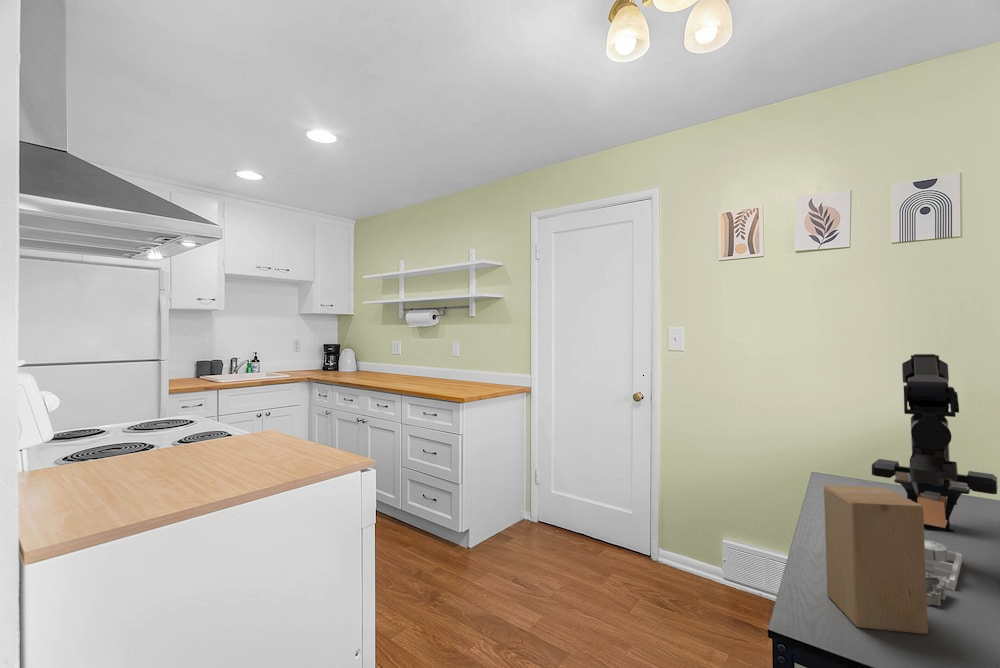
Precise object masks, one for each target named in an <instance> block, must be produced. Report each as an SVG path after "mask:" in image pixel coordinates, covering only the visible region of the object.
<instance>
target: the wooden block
mask: <svg viewBox="0 0 1000 668" xmlns="http://www.w3.org/2000/svg"><path fill="white" fill-rule="evenodd" d="M823 493H824V494H823V496H824V497H823V498H824V499H823V501H824V526H825V527H824V529H825V530H824V531H825V561H826V563H825V564H826V566H825V567H826V589H827V590H826V592H827V596H828V598H829V599H830V600H831V601H832V603H834V604H835V605H836V607H838V608H839V610H840V611H841V612H842V613H843V614H844V615H845V616H846V617H847V618H848V620H850V621H851V623H852V624H854V626H855V627H857V628H860V629H871V630H879V631H880V630H881V631H890V632H891V631H892V632H901V633H910V634H911V633H912V634H923V635H927V634H928V633H929V628H928V626H929V625H928V605H927V594H928V593H927V591H926V568H925V542H924V540H925V529H924V516H923V507H922V505H920V504H918V503H916V502H914V501H912V500H910V499H907V497H905V496H903V495H901V494H900V493H897V492H895V491H893V490H891V489H889V488H887V487H884V486H883V487H882V486H865V485H864V486H860V485H859V486H858V485H834V484H826V485H824V486H823ZM926 593H927V594H926Z"/></svg>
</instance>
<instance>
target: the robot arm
mask: <svg viewBox="0 0 1000 668" xmlns="http://www.w3.org/2000/svg"><path fill="white" fill-rule="evenodd" d="M901 365H902V367H901V368H902V369H901V371H902V384H903V409H904V414H905V415H912V416H910V435H911V436H910V437H911V439H910V440H911V456H910V458H909V466H903V465H900V464H899V461H898V460H890V459H883V458H878V459H877V460H875V461H874V462H873V463H872V464H871V476H874V477H879V478H886V479H891V478H892V477H895V478H894V480H893V481H894V483H896V484H899V485H901V487H902V488H903V489H904V490H905V492H906V496H907V497H906V498H907V499H909V500H912V501H914V502H916V503H917V498H918V496H919V495H920V493H924V492H925V491H929V492H935V493H941V496H943V497H947V504H946V512H945V515H946V520H947V524H946V527H945V528H942V527H937V526H933V525H928V524H924V530H935V531H947V532H948V531H949V532H955V528H954V527H952V526H950V524H951V523H950V521H951V520H950V517H951V514H952V512H953V510H954V508H955V506H956V505H957V506H958V502H957V501H958V500H959V498H960V497H961V495H970V493H971V491H972V492H977V493H983V494H989V495H997V494H998V487H999V486H998V478H997V476H996V475H995V474H993V473H988V472H979V471H971V470H968V472H967V474H960V473H959V472H958V464H957V463H958V462H957V461H951V460H950V443H951V441H952V432H951V429H950V427H949V420H948V419H947V418H946V417H949V418H951V417H952V418H956V414H959V413H960V404H959V395H958V392H957V391H956V390H955V388H954V387H953V386H949V382H950V381H949V380H950V379H949V378H950V377H949V375H950V374H949V365H948V363H947V362H945V361H943V360H941V359H940V355H938V354H937V355H936V354H935V353H914V354H911V355H910V359H908V360H906V361H904V362H902V363H901ZM908 407H909V408H908ZM949 410H950V411H949Z"/></svg>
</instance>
